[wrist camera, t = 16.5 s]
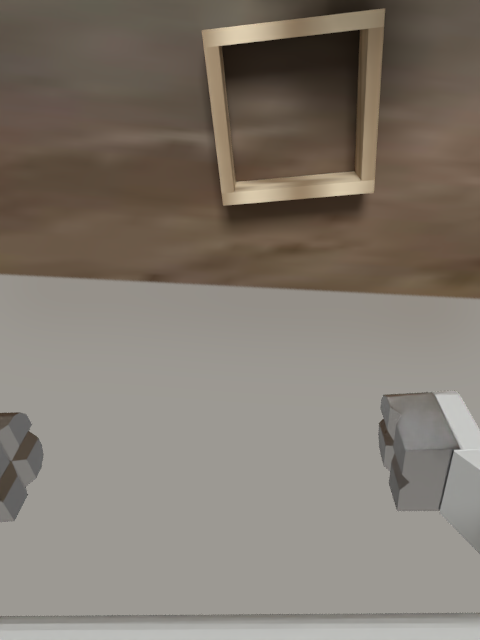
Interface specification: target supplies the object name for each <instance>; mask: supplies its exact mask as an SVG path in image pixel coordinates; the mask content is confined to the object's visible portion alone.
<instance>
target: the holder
mask: <svg viewBox="0 0 480 640" xmlns="http://www.w3.org/2000/svg"><path fill="white" fill-rule="evenodd" d="M384 19H385V8H383V9H375V10H367V11H359V12H350V13H342V14H334V15H325V16H317V17H309V18H300V19H292V20H284V21H276V22H267V23H259V24H251V25H242V26H234V27H226V28H218V29H209V30H202V36H203V44H204V53H205V61H206V69H207V77H208V85H209V94H210V102H211V110H212V118H213V126H214V134H215V143H216V151H217V159H218V167H219V175H220V183H221V192H222V200H223V206H225V205H237V204H249V203H260V202H272V201H283V200H295V199H307V198H318V197H330V196H341V195H353V194H365V193H374V181H375V165H376V149H377V132H378V116H379V100H380V84H381V67H382V51H383V35H384ZM352 30H360V40H359V67H358V94H357V121H356V147H355V171H351V172H340V173H329V174H318V175H307V176H296V177H285V178H274V179H263V180H252V181H241V182H236V179H235V169H234V159H233V150H232V140H231V130H230V121H229V111H228V102H227V92H226V82H225V73H224V63H223V53H222V46H224V45H232V44H241V43H249V42H258V41H267V40H275V39H284V38H292V37H301V36H309V35H318V34H326V33H335V32H343V31H352Z"/></svg>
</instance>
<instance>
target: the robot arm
mask: <svg viewBox="0 0 480 640" xmlns="http://www.w3.org/2000/svg"><path fill="white" fill-rule="evenodd" d="M381 412H382V415H383V418H384V419H383V420H382V421H381V422H380V423H379V434H378V435H379V448H380V453H381V457H382V461H383V465H384V467H386V468H387V469H388V470H389V471H390V478H389V486H390V489H391V492H392V496H393V499H394V502H395V505H396V509H397V511H440V512H439V513H440V514H441V515H442V516H443V517H444V518H445V519H446V520H447V521H448V522H449V523H450V524H451V525H452V526H453V527H454V528H455V529H456V530H457V531H458V532H459V533H460V534H461V535H462V536H463V538H464V539H465V540H466V541H467V542H468V543H469V544H470V545H471V546H472V547H474V549H475V550H476V551H477V552H478V553H479V554H480V429H479V428H478V426H477V424H476V422H475V421H474V419H473V417H472V415H471V413H470V412H469V410H468V408H467V406H466V405H465V403H464V401H463V399H462V398H461V396H460V394H459V393H458V392H456V391H455V390H454V391H437V392H430V393H429V392H424V393H407V394H390V395H383V397H382V400H381ZM31 425H32V424H31V422H30V420H29V418H28V416H27V415H26V414H23V413H0V522H6V521H7V522H8V521H14V520H15V519H16V517H17V515H18V513H19V511H20V509H21V507H22V505H23V503H24V501H25V499H26V497H27V495H28V494H27V490H26V486H27V485H28V484H30V483H31V482H32V481H33V480H35V479H36V478H37V475H38V473H39V471H40V469H41V467H42V460H43V449H42V444H41V442H40V440H39V438H38V437H37V436H35V435H34V434H32V433H30V432H29V430H30V427H31ZM0 640H480V613H395V614H394V613H388V614H387V613H385V614H259V615H258V614H257V615H256V614H255V615H117V616H116V615H114V616H113V615H111V616H109V615H107V616H0Z"/></svg>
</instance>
